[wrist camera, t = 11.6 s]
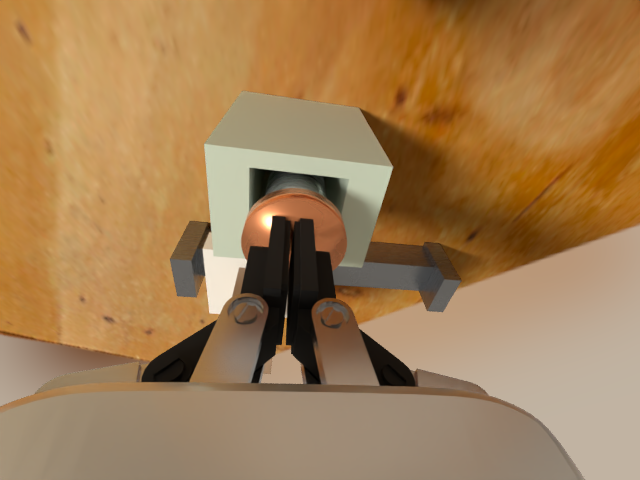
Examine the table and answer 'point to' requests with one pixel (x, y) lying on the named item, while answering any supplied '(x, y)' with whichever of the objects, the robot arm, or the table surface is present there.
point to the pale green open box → (294, 165)
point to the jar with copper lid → (296, 213)
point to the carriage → (224, 281)
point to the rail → (343, 268)
